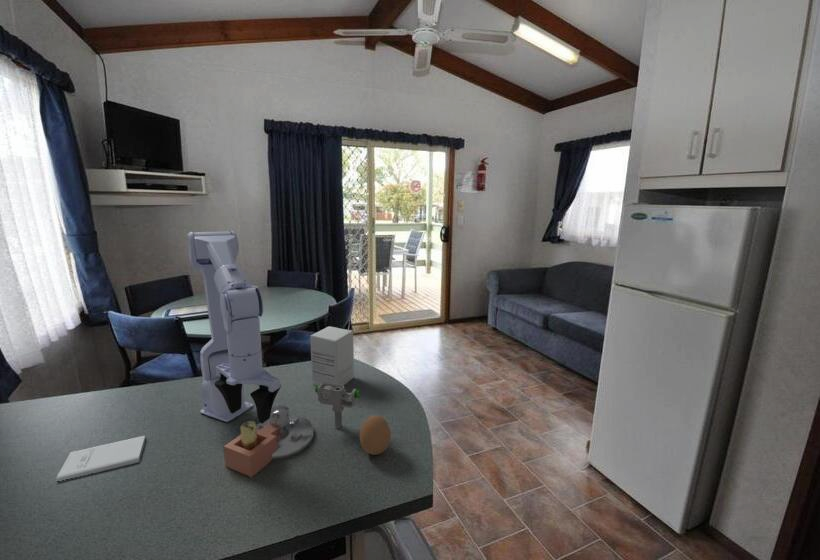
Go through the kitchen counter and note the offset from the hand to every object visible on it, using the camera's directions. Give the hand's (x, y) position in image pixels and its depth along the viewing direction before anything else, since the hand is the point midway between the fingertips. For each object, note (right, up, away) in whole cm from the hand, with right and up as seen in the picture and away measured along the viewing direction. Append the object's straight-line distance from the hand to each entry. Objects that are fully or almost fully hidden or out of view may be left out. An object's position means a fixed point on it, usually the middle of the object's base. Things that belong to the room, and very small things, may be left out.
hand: (249, 415), depth 73 cm
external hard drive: (-30, -10, +1) cm, 31 cm away
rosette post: (+3, -8, +9) cm, 12 cm away
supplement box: (+9, -3, +35) cm, 36 cm away
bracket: (0, -9, +3) cm, 10 cm away
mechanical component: (+15, -8, +13) cm, 21 cm away
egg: (+24, -10, +5) cm, 27 cm away
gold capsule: (0, -9, +1) cm, 9 cm away
